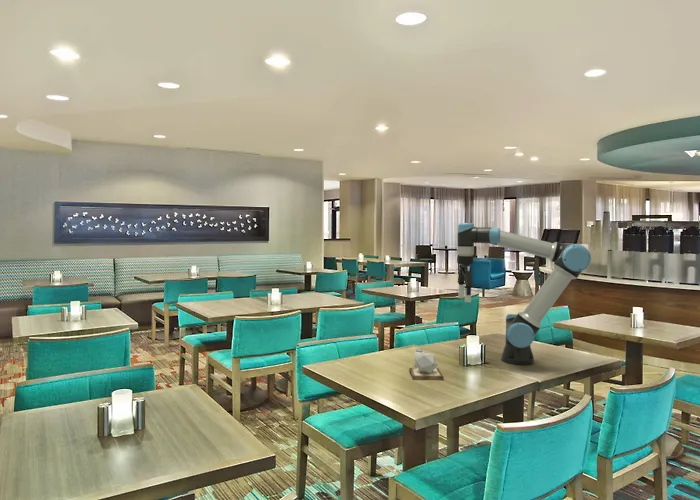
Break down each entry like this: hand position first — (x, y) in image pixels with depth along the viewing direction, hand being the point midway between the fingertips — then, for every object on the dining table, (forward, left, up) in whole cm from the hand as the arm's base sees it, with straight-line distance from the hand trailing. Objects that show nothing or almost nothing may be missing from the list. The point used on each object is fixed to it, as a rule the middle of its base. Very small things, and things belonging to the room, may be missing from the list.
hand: (464, 300), depth 240 cm
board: (+21, +20, -31) cm, 42 cm away
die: (+21, +20, -29) cm, 41 cm away
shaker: (+22, +5, -31) cm, 38 cm away
